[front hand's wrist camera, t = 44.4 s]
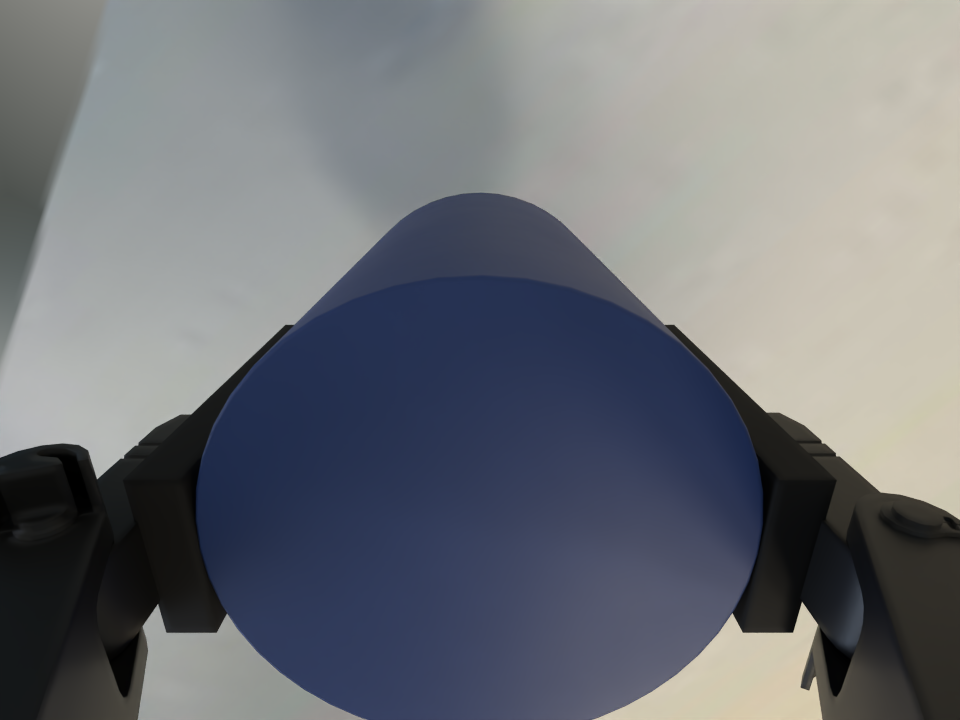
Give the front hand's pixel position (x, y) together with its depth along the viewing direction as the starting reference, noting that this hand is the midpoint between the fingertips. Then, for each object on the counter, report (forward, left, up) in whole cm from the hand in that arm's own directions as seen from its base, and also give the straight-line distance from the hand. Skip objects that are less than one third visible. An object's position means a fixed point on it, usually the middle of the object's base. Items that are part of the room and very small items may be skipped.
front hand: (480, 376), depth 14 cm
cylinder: (0, 0, -4) cm, 4 cm away
